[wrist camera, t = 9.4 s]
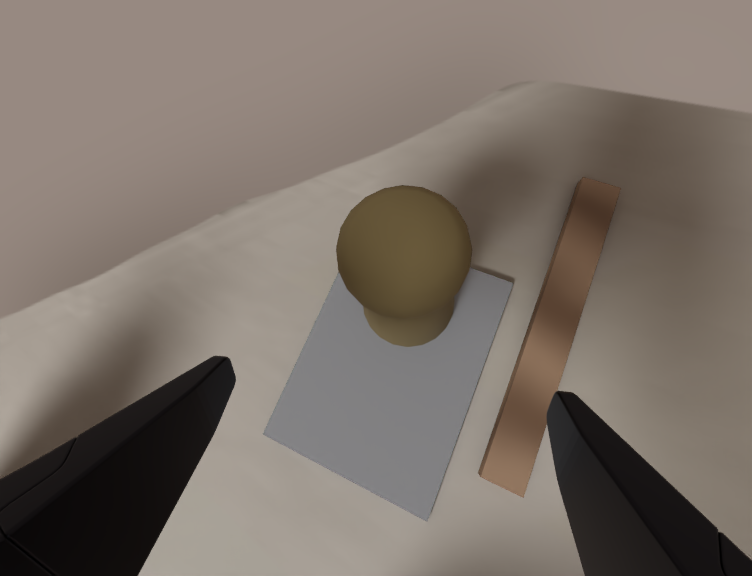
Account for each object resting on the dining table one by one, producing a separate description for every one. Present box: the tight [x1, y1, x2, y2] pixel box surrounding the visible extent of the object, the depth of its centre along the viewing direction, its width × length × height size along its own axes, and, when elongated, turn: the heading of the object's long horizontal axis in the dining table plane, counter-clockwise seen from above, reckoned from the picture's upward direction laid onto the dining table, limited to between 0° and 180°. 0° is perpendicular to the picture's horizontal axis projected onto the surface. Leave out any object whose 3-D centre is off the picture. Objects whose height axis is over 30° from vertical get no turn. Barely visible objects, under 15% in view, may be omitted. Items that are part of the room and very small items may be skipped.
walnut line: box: [478, 177, 621, 497], centre depth 21 cm, size 20×2×1 cm, turn 156°
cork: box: [336, 185, 472, 347], centre depth 17 cm, size 6×6×11 cm
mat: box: [263, 268, 513, 521], centre depth 21 cm, size 15×11×1 cm
